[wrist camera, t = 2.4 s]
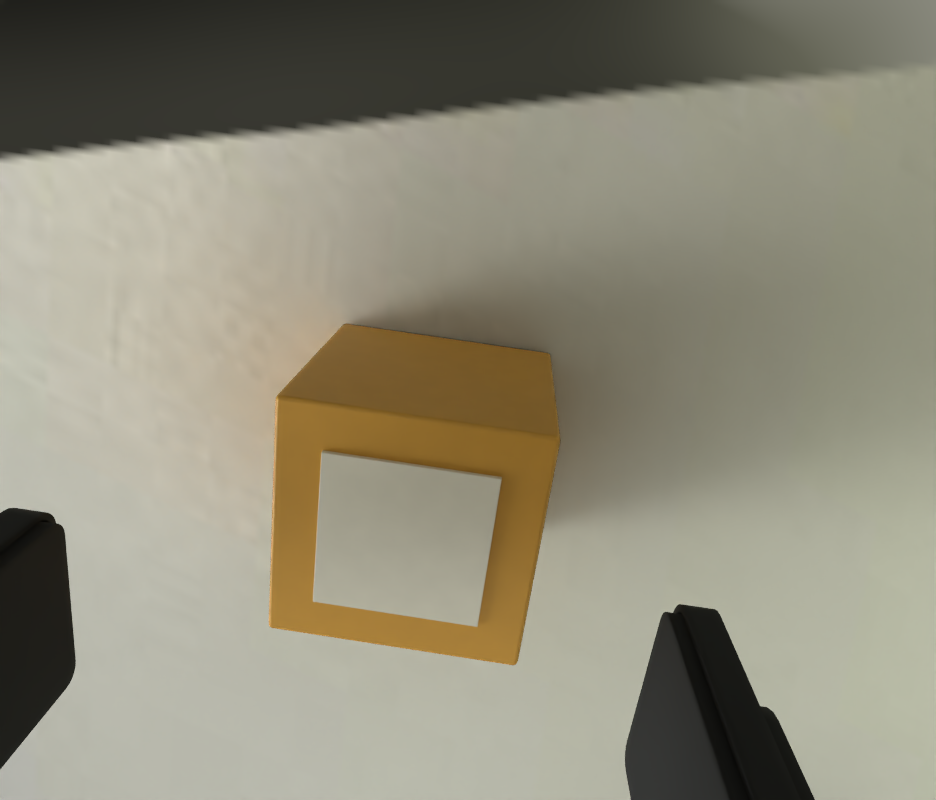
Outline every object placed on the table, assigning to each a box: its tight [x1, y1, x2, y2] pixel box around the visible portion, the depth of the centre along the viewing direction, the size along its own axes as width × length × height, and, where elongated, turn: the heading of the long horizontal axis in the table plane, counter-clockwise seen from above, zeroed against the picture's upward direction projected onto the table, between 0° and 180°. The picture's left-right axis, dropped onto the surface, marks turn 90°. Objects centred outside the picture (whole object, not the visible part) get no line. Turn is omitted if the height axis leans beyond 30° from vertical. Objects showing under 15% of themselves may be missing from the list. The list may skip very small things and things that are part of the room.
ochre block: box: [269, 324, 560, 665], centre depth 15 cm, size 5×5×5 cm
